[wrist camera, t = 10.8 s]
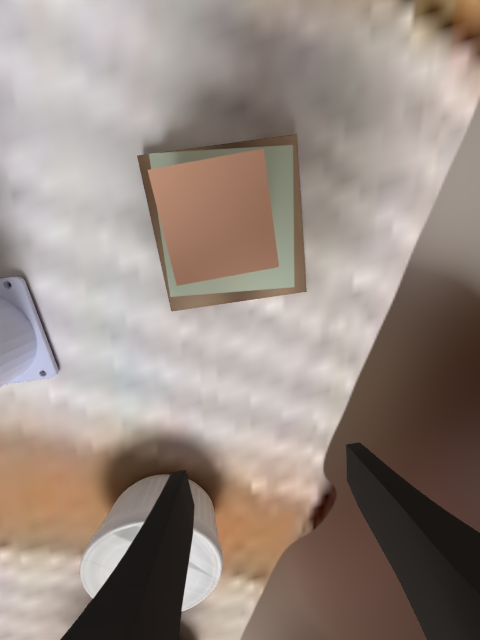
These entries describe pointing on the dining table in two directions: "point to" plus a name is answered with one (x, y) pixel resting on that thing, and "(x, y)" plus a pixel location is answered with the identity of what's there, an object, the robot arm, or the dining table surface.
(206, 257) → the terracotta block
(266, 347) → the dining table surface
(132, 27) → the dining table surface
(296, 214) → the tower base
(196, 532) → the ramekin
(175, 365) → the dining table surface
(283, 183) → the tower top
